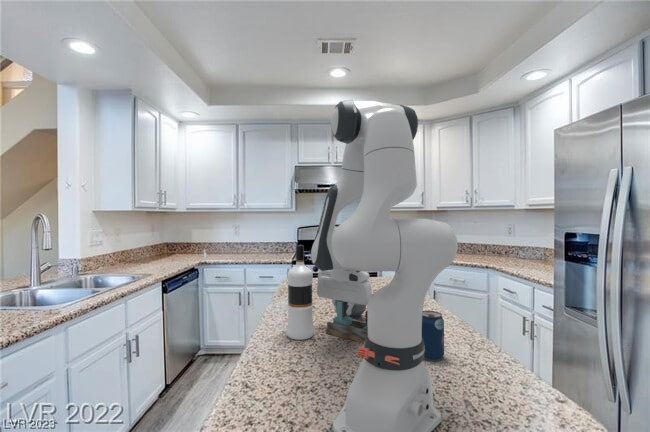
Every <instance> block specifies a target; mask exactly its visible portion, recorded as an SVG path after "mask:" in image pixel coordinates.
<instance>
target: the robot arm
mask: <svg viewBox="0 0 650 432" xmlns="http://www.w3.org/2000/svg"><path fill="white" fill-rule="evenodd" d="M330 125H331V131H332V135H333V137H334V138H335V140H336V141H337V142H340V143H343V144H345V146H344V150H343V156H342V163H341V170H340V171H341V172H340V175H339V177H338V178H337V179H338V180H337V181H336V183H335V184H333V185H332V186H330V187H329V188H328V191H327V193H326V196H325V201H324V203H323V206H322V211H321V216H320V218H319V223H318V227H317V231H316V235H315V238H314V240H313V243H312V246H311V250H310V259H311V263H312V264H313V265H314V266H315V268H317V269H318V270H320V271H319V272H318V274H317V285H316V295H317V297H318V298H323V299H328V300H331V303H332V305H333V307H334V313H336V314H337V301H344V302H348V305H349V307H348V308H347V309H345V315H351V309H352V308H353V306H354V303H356V304H361V305H366V309H367V310H366V311H367V315H368V333H367V335H366V339H365V342H364V343H363V346H361V345H360V346H358V350H357V356H358V357H359V358H362V360H361V362H360V363H359V366H358V368H357V370H356V372H355V375H354V376H353V379H352V381H351V384H350V386H349V388H348V391H347V392H346V393H347V394H346V398H345V402H344V403H343V405H342V407H341V409H340V410H339V412H338V414H337V415H336V417H335V419H334V420H333V422H332V428H331V429H332V431H333V432H432V431H434V430H435V428H436V427H438V425H440V423H441V422H442V413H441V412H440V411H439V410H438V409H437V408H436V407H435V406H434V394H433V391H434V390H433V379H432V377H433V376H432V373H431V371H430V370H429V369H428V367H427V365H426V364H425V361H424V360H425V359H424V352H425V346H424V340H423V338H422V313H423V311H424V310H423V309H424V303H425V300H426V295H427V293H428V291H429V289H430V287H431V285H432V283H433V282H434V281H435V280H436V278H437V276H439V275H440V274H441V273H442V272H443V271H444V270H445V269H447V268H448V267H449V266H450V265H452V263H453V262H454V261H455V259H456V256H457V254H458V247H459V243H458V239H457V235H456V232H455V231H454V230H453V228H452V226H450V225H449V223H447V222H444V221H440V220H435V219H428V218H394V217H391V211H392V208H393V207H394V206H396V205H398V204H400V203H403V202H405V201H406V200H408V199H409V198H410V197H411V196H412V195H414V193H415V191H416V189H417V186H418V185H417V182H418V181H417V170H416V169H417V168H416V167H417V166H416V156H415V145H414V139H416V136H417V133H418V129H419V118H418V114H417V112H416V110H415V109H413V108H412V107H409V106H407V105H403V104H399V105H397V104H394V103H388V102H380V101H377V100H353V99H346V100H342V101H341V100H340V101H339V102H338V103H337V104H336V105H335V106H334V110H333V113H332V115H331V118H330ZM358 202H359V203H358ZM355 203H358V205H357V206H356V208H355V210H354V211H353V212H352V213H351V214H350V216H349V217H348V218H346V219H345V220H344V221H342V222H341V223H340V224H339V225H336V224H337V220H338V216H339V214H340V212H341V211H342V210H343V209H346V208H347V207H348V206H350V205H353V204H355ZM370 272H394V274H393V275H394V276H393V278H392V279H391V281H390V282H388V284H385V285H384V286H382V287H381V288H379V289H377V290H376V291H374V292H372V285H371V283H370V281H369V279H370Z"/></svg>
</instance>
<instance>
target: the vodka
mask: <svg viewBox="0 0 650 432" xmlns="http://www.w3.org/2000/svg"><path fill="white" fill-rule="evenodd" d="M304 246H305V245H303V244H297V245H296V246H295V247H296V249H295V252H296V254H295V259H296V260H295V262H296V263H295V265H293V267H291V268H290V269H289V270H288V271H287V298H288V299H287V316H288V317H287V325H286V329H285V330H286V333H285V334H286V336H287V338H289V339H291V340H295V341H303V340H304V341H305V340H308V339H310V338H312V337H314V335H315V325H314V317H313V316H314V315H313V307H314V305H313V277H314V275H313V274H314V273H313V270H312V268H311V269H310V268H309V267H308V266H306V265H305V247H304Z"/></svg>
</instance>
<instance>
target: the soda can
mask: <svg viewBox="0 0 650 432" xmlns="http://www.w3.org/2000/svg"><path fill="white" fill-rule="evenodd" d="M422 338H423V340H424V346H425V352H424V360H427V361H430V362H431V361H432V362H436V361H441V360H442V358H443V357H444V355H445V320H444V319H443V316H442V313H441V312H439V311H435V310H423V313H422Z"/></svg>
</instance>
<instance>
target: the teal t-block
mask: <svg viewBox="0 0 650 432" xmlns="http://www.w3.org/2000/svg"><path fill="white" fill-rule="evenodd" d="M348 307H349V305H348V302H344V301H337V313H336V316H335V317H333V318H332V322H333V323H337V324H342V325H346V326H349V325H350V324H352V318H351V317H348V315H345V309H347V308H348Z"/></svg>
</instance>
